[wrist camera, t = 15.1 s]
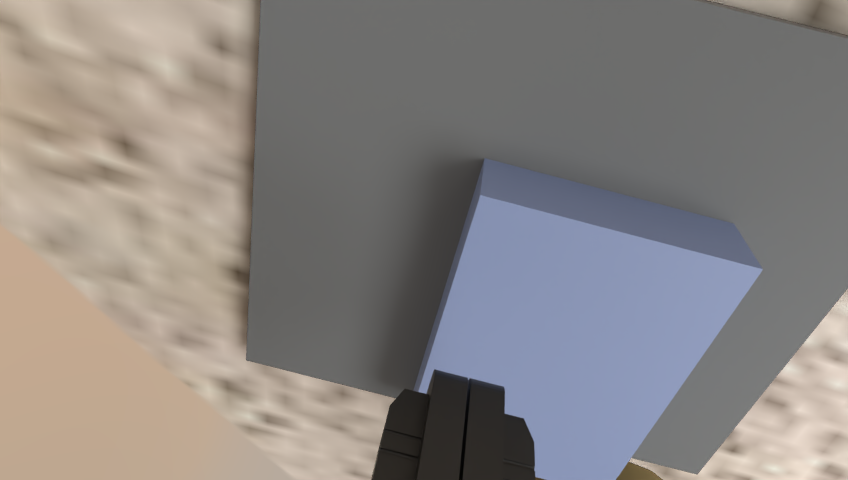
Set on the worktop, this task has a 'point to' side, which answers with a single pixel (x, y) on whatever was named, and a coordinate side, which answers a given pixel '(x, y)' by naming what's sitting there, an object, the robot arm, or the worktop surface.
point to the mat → (537, 170)
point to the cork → (633, 473)
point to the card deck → (583, 311)
